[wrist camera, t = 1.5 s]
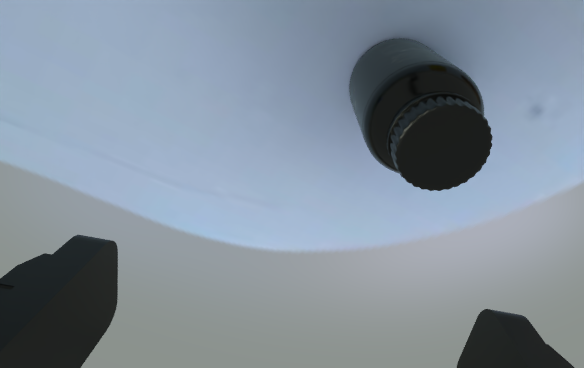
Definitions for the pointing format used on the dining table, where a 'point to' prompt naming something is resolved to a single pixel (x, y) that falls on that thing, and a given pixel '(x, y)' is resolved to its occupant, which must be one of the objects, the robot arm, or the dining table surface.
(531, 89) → the dining table surface
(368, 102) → the supplement bottle
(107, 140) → the dining table surface
